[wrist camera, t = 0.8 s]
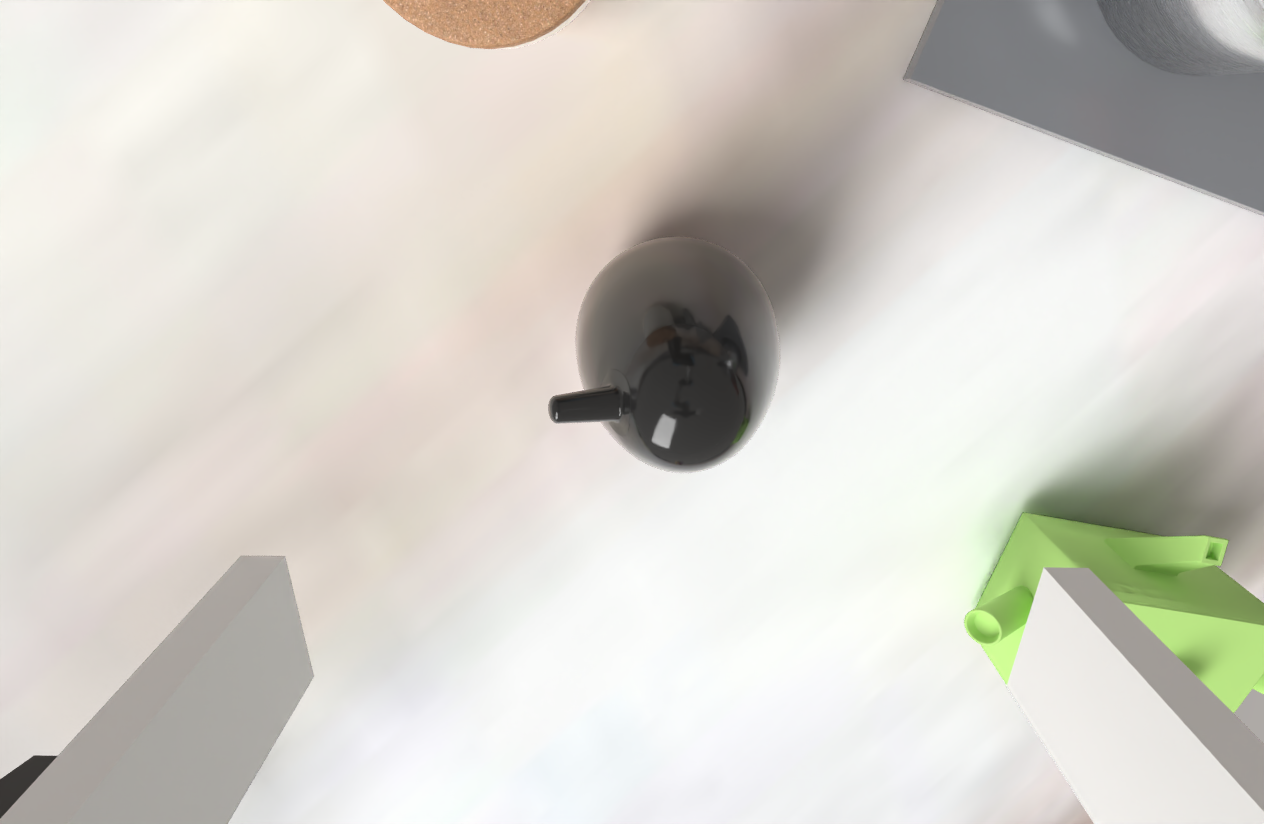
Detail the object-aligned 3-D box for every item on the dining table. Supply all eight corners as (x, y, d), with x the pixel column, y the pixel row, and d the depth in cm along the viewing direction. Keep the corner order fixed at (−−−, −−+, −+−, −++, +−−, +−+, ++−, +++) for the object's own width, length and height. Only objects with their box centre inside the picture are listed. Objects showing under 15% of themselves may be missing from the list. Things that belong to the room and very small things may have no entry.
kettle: (1203, 592, 46) (1365, 731, 35) (1006, 683, 49) (1102, 833, 39) (1124, 433, 41) (1285, 540, 31) (913, 546, 44) (994, 676, 34)
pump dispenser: (581, 219, 36) (543, 283, 22) (773, 230, 36) (855, 301, 22) (576, 393, 40) (542, 540, 26) (748, 403, 40) (806, 555, 26)
